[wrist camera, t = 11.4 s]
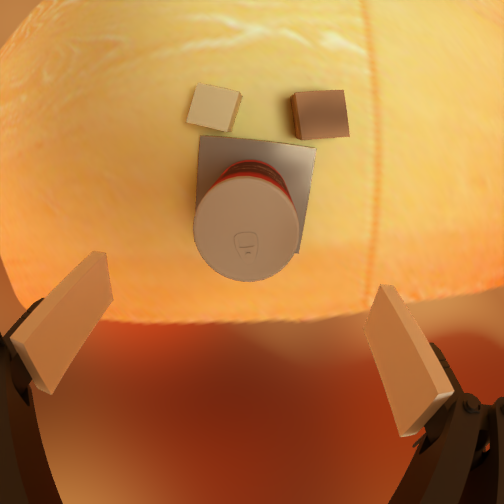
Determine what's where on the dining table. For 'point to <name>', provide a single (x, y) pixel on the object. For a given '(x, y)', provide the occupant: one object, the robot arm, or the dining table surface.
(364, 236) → the dining table surface
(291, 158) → the slate coaster
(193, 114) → the beige block
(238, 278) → the canned food
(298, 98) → the walnut block
